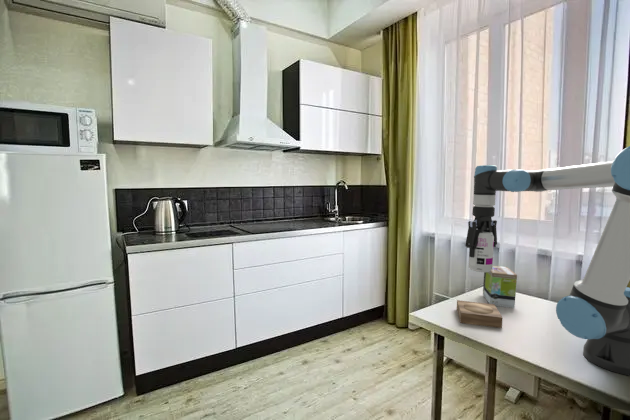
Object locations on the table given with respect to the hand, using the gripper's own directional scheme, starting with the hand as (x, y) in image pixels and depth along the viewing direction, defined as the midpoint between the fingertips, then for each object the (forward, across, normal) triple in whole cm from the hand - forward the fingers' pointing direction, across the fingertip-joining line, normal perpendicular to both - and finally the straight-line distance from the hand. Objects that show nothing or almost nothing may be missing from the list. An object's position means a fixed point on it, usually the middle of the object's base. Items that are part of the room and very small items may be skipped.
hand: (480, 264), depth 127 cm
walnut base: (+22, 0, 0) cm, 22 cm away
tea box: (+22, -25, -8) cm, 35 cm away
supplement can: (+2, 0, 0) cm, 2 cm away
